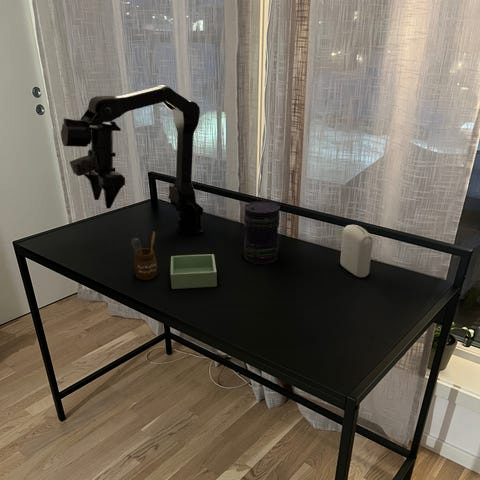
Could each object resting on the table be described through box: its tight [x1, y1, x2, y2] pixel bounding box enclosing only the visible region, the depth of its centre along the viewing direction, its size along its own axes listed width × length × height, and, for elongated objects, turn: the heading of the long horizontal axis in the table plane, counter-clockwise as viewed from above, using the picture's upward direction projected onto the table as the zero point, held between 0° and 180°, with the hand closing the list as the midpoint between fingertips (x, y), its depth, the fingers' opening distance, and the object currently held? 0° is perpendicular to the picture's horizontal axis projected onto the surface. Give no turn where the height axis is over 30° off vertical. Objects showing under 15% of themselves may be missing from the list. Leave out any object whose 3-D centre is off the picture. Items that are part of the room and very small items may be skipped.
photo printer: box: [339, 224, 374, 278], centre depth 137 cm, size 10×4×12 cm, turn 20°
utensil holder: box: [131, 231, 158, 281], centre depth 135 cm, size 6×6×12 cm
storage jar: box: [243, 200, 280, 265], centre depth 145 cm, size 10×10×15 cm
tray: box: [169, 253, 218, 290], centre depth 136 cm, size 12×12×4 cm
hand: (102, 204), depth 146 cm, fingers open, 9 cm apart
